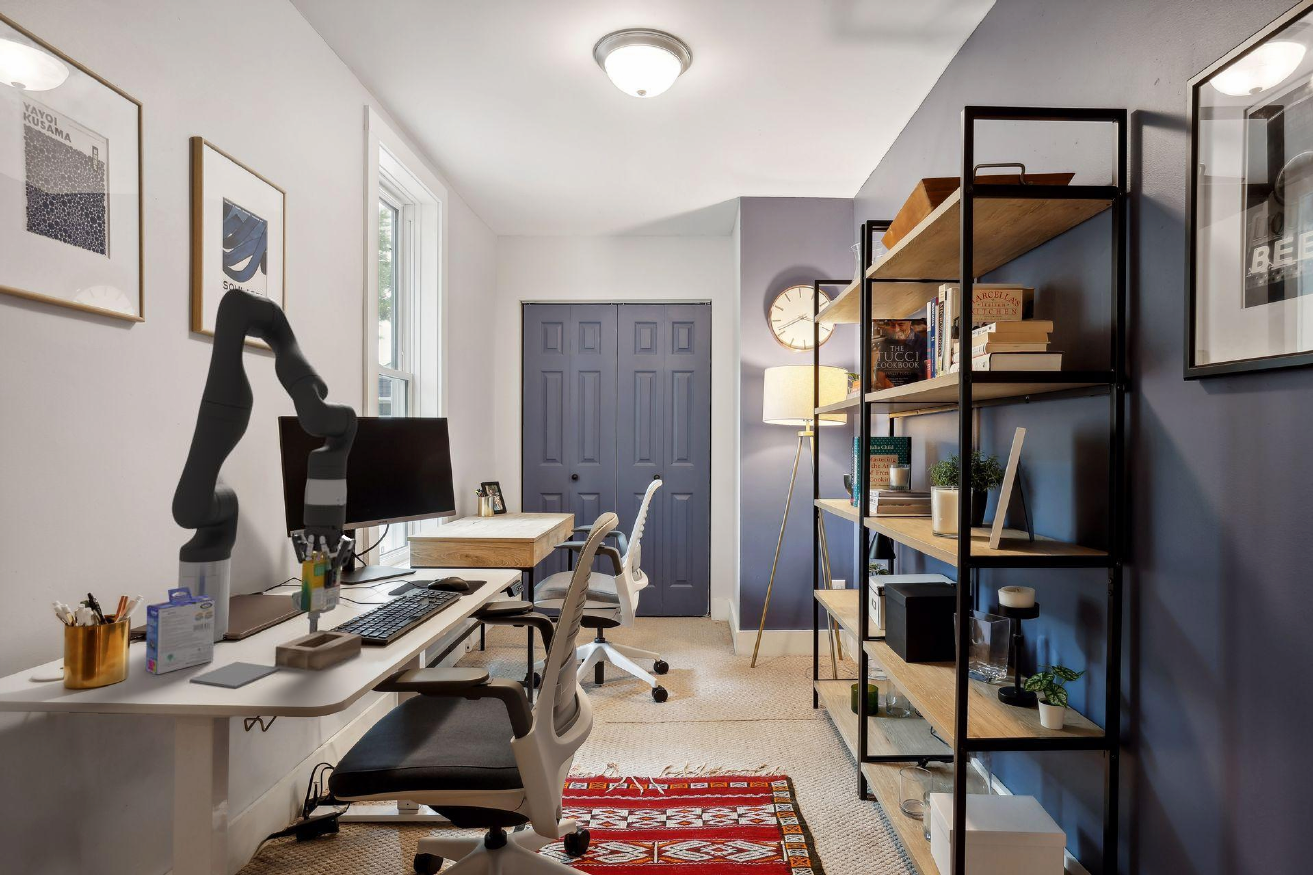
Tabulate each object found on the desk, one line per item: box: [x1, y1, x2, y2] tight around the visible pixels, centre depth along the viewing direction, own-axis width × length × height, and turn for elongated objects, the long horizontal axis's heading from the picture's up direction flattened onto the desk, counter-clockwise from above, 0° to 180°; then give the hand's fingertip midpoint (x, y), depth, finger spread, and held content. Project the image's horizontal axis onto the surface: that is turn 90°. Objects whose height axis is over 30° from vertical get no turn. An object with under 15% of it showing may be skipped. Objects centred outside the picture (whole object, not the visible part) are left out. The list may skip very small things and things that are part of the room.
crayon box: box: [300, 548, 342, 613], centre depth 134 cm, size 7×3×12 cm, turn 160°
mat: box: [189, 661, 281, 689], centre depth 123 cm, size 10×10×1 cm
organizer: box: [274, 629, 362, 671], centre depth 134 cm, size 10×12×4 cm
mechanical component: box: [291, 590, 337, 634], centre depth 146 cm, size 3×10×10 cm, turn 79°
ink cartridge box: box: [145, 587, 215, 675], centre depth 127 cm, size 10×6×14 cm, turn 149°
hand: (321, 586), depth 134 cm, fingers closed on crayon box, 3 cm apart
